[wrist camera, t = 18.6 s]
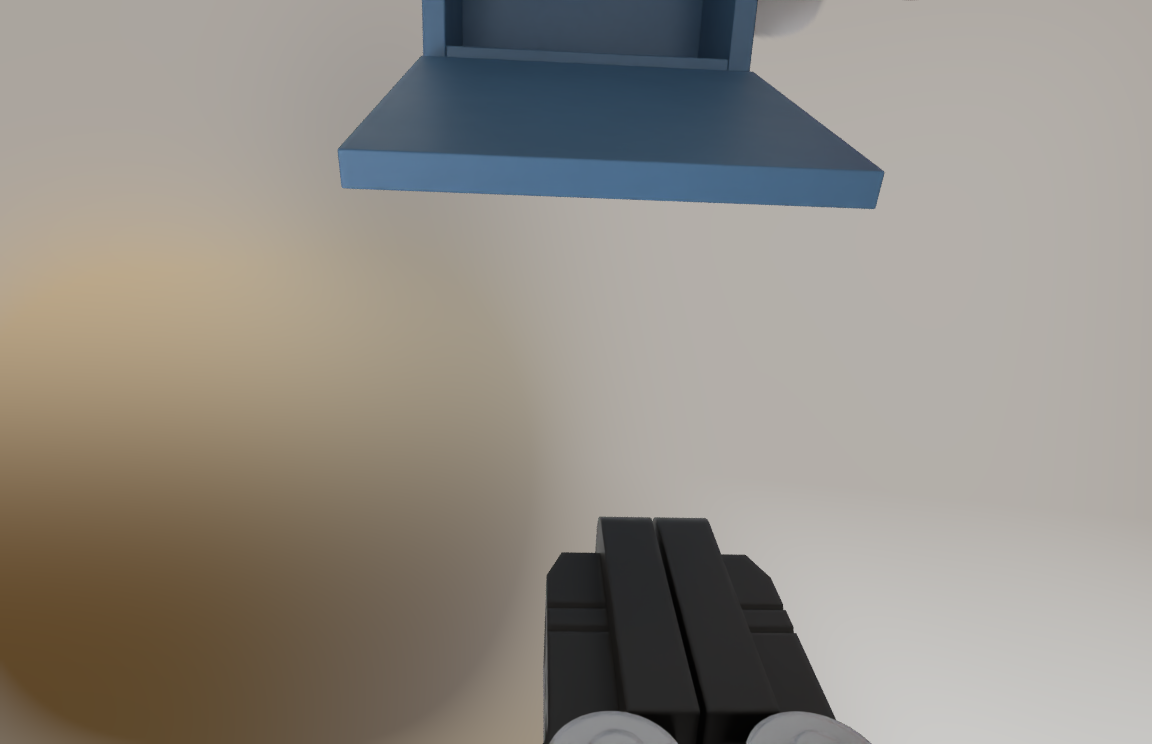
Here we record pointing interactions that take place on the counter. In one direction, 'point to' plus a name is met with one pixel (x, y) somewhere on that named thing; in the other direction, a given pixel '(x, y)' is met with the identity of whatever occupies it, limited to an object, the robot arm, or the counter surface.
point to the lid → (602, 136)
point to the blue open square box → (595, 31)
